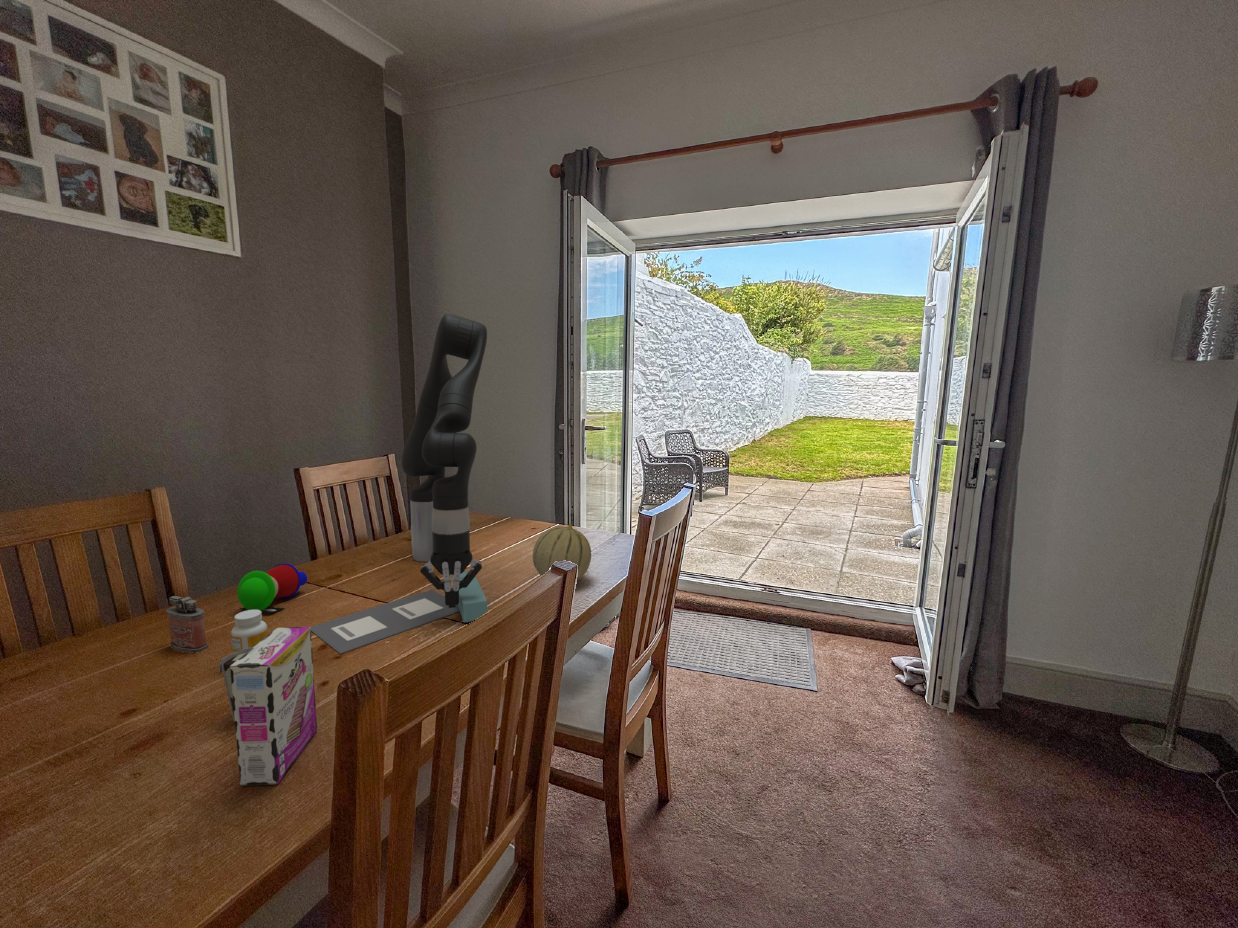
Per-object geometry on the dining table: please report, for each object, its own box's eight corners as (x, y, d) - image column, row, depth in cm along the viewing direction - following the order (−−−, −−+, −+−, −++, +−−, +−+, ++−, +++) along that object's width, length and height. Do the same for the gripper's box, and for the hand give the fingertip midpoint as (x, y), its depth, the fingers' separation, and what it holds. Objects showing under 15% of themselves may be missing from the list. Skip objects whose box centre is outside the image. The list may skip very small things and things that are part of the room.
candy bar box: (280, 785, 69) (269, 665, 67) (239, 787, 69) (225, 666, 66) (320, 729, 80) (312, 624, 78) (285, 731, 80) (275, 625, 77)
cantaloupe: (522, 588, 135) (520, 529, 133) (551, 569, 148) (550, 515, 146) (575, 597, 130) (575, 536, 127) (600, 577, 143) (600, 521, 141)
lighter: (213, 647, 104) (207, 597, 103) (194, 655, 101) (188, 604, 100) (184, 640, 107) (178, 591, 105) (165, 648, 104) (159, 598, 102)
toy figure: (278, 601, 132) (227, 617, 117) (276, 562, 132) (224, 573, 117) (313, 599, 131) (265, 615, 116) (311, 560, 131) (263, 570, 116)
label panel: (307, 628, 112) (307, 627, 112) (431, 590, 133) (431, 589, 133) (340, 654, 102) (340, 652, 102) (469, 608, 123) (469, 607, 123)
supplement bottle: (229, 674, 95) (224, 622, 93) (240, 659, 100) (235, 609, 98) (265, 669, 96) (260, 618, 95) (274, 655, 101) (269, 606, 100)
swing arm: (463, 622, 114) (463, 604, 113) (452, 588, 132) (451, 573, 132) (487, 618, 116) (487, 600, 115) (473, 586, 134) (472, 570, 134)
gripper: (415, 534, 108) (418, 616, 111) (484, 531, 112) (484, 610, 115) (418, 524, 116) (420, 601, 118) (482, 521, 119) (483, 597, 122)
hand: (452, 606), depth 116 cm, fingers closed
